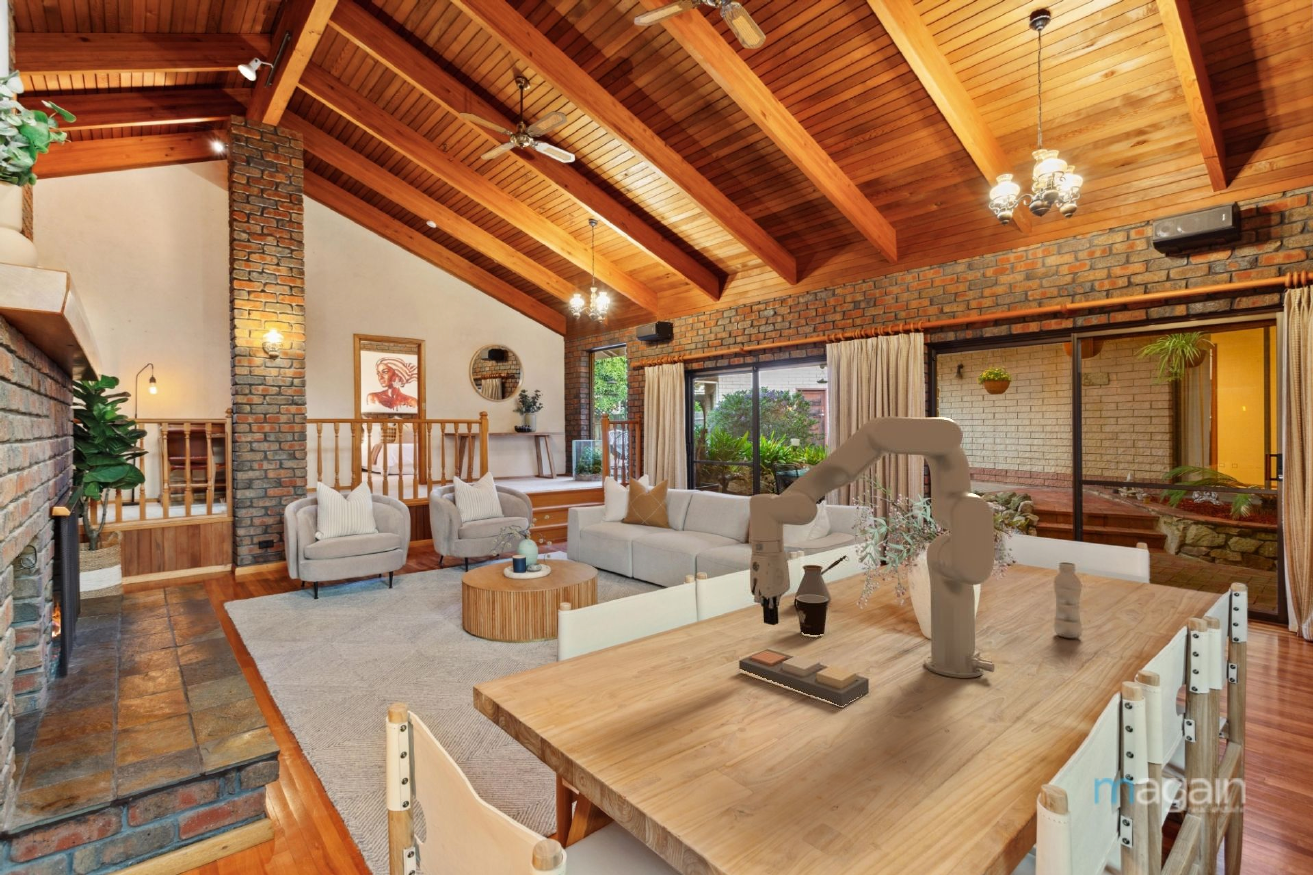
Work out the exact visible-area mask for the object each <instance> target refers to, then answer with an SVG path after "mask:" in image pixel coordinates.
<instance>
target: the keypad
mask: <svg viewBox="0 0 1313 875" xmlns="http://www.w3.org/2000/svg"><path fill="white" fill-rule="evenodd" d="M764 651H769V652H773V653H776V654H779V655H783V656H786V657H787V660H788V659H791V658H793V657H794V656H793V655H790V654H786V653H782V652H779V651H775V650H772V649H769V648H766V649H764V650H761V651H758V652H756V653H754V654H752V655H749V656H746V657H744V658H742V659H739V661H738V666H739V667H738V669H742V670H744V671H747V672H749V673H753V674H755V675H758V676H760V677H762V678H766V679H767V680H772V681H773V682H777V683H779V684H783V685H784V686H788V687H790V688H793V689H795V690H798V691H801V692H803V693H806V694H808V695H813V696H815V697H819V698H821V699H825V700H827V701H830V702H832V703H834V704H837V705H839V706H844V705H845V704H848V703H849V702H850V701H852V700H854V699H856V698H857V697H860V696H861V695H864V694H865V693H867V692H869V691H870V690H869V686H870V684H869V678H867V677H865V676H864V677H863V676H860V675H858V674H856V682H855V683H853V684H851V685H849V686H848V687H846V688H844V689H840V688H837V687H834V686H831V685H827V684H824V683H821V682H818V681H817V673H818V672H820V671H822V670H824V669H826V668H828V667H829V666H827V665H823V664H820V671H818V672H816V673H814V674H812V675H810V676H808V677H802V676H799V675H796V674H793V673H790V672H787V671H784V670H782V662H781V663H779V664H777V665H775V666H772V667H771V666H768V665H765V664H762V663H758V662H755V661H752V660H751V657H752V656H754V655H757V654H759V653H761V652H764ZM867 694H868V693H867ZM865 695H866V694H865ZM865 695H864V696H865ZM860 698H861V697H860Z"/></svg>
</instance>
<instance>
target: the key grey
mask: <svg viewBox="0 0 1313 875" xmlns="http://www.w3.org/2000/svg"><path fill="white" fill-rule="evenodd" d="M820 663H821V662H820V661H817V660H814V659H811V658H807V657H804V656H801V655H796V656H793V658H791V659H788V660H786V661H784V662H782V670H784V671H787V672H790V673H793V674H796V675H799V676H802V677H808V676H810V675H812V674H814V673H816V672H818V671H820V665H821V664H820Z"/></svg>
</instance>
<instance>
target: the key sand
mask: <svg viewBox="0 0 1313 875" xmlns="http://www.w3.org/2000/svg"><path fill="white" fill-rule="evenodd" d="M827 667H828V668H826V669H824V670H822V671H820V672H818V673H817V681H818V682H821V683H824V684H827V685H831V686H834V687H837V688H840V689H844V688H846V687H848V686H849V685H851V684H853V683H855V682H856V675H857V672H855V671H852V670H850V669H849V670H848V669H845V668H841V667H838V666H834V665H830V666H827Z"/></svg>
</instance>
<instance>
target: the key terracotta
mask: <svg viewBox="0 0 1313 875" xmlns="http://www.w3.org/2000/svg"><path fill="white" fill-rule="evenodd" d="M760 652H761V651H760ZM758 653H759V652H758ZM753 655H754V654H753ZM751 660H752V661H755V662H758V663H762V664H765V665H768V666H771V667H772V666H775V665H777V664H779V663H781V662H784V661H786V660H787V657H786V656H783V655H779V654H776V653H773V652H769V651H764V652H761V653H759V654H757V655H754V656H752V657H751Z"/></svg>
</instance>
